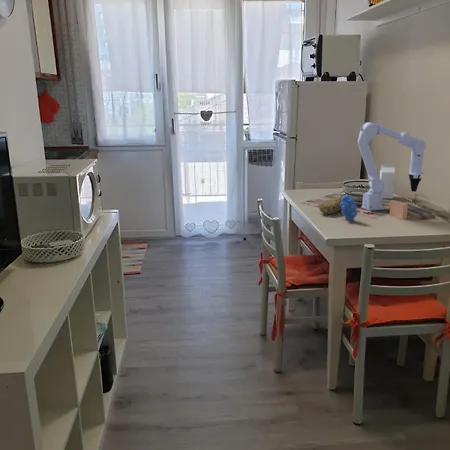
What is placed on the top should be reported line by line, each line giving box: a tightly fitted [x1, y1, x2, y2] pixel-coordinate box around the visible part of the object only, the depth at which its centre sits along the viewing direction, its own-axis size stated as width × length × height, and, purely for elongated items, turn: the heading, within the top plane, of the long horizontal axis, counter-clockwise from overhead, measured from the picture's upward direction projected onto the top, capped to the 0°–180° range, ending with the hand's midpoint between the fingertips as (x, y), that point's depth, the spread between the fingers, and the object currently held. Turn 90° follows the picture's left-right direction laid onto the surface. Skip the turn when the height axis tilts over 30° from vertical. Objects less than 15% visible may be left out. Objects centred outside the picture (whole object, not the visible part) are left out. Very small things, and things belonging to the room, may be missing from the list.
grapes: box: [340, 194, 358, 222], centre depth 220 cm, size 12×7×12 cm, turn 23°
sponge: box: [318, 197, 342, 215], centre depth 235 cm, size 13×8×20 cm
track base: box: [407, 203, 436, 220], centre depth 229 cm, size 9×18×3 cm, turn 16°
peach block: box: [389, 199, 409, 220], centre depth 225 cm, size 2×10×7 cm, turn 16°
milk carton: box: [379, 163, 396, 200], centre depth 263 cm, size 7×7×19 cm
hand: (413, 189), depth 237 cm, fingers open, 7 cm apart
